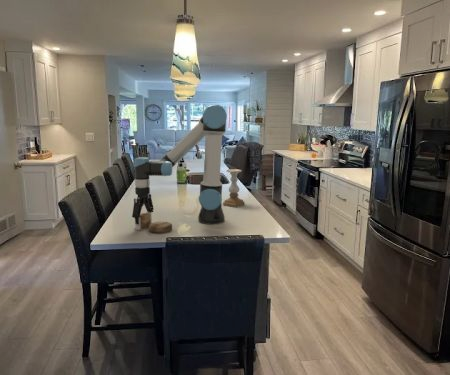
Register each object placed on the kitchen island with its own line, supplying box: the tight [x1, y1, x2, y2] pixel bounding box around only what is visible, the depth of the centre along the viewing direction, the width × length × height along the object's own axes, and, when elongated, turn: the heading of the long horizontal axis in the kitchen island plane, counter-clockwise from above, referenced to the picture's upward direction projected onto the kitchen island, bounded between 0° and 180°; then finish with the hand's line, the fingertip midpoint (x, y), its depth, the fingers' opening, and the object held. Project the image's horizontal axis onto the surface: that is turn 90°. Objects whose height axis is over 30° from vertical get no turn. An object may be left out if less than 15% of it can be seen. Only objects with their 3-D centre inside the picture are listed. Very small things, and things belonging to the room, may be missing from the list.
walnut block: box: [139, 212, 150, 230], centre depth 199 cm, size 5×5×7 cm
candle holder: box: [222, 168, 246, 208], centre depth 249 cm, size 11×11×24 cm
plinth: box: [148, 221, 173, 235], centre depth 194 cm, size 12×12×3 cm
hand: (143, 226), depth 200 cm, fingers open, 11 cm apart
